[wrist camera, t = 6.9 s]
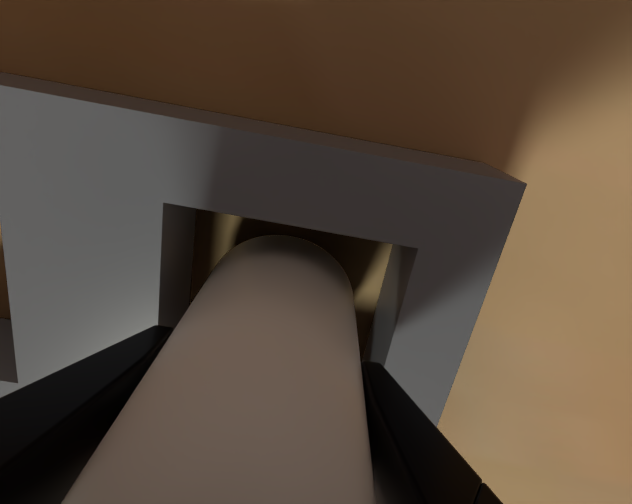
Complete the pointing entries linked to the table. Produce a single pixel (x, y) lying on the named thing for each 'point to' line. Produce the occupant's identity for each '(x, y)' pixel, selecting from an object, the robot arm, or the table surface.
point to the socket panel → (229, 198)
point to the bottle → (247, 393)
